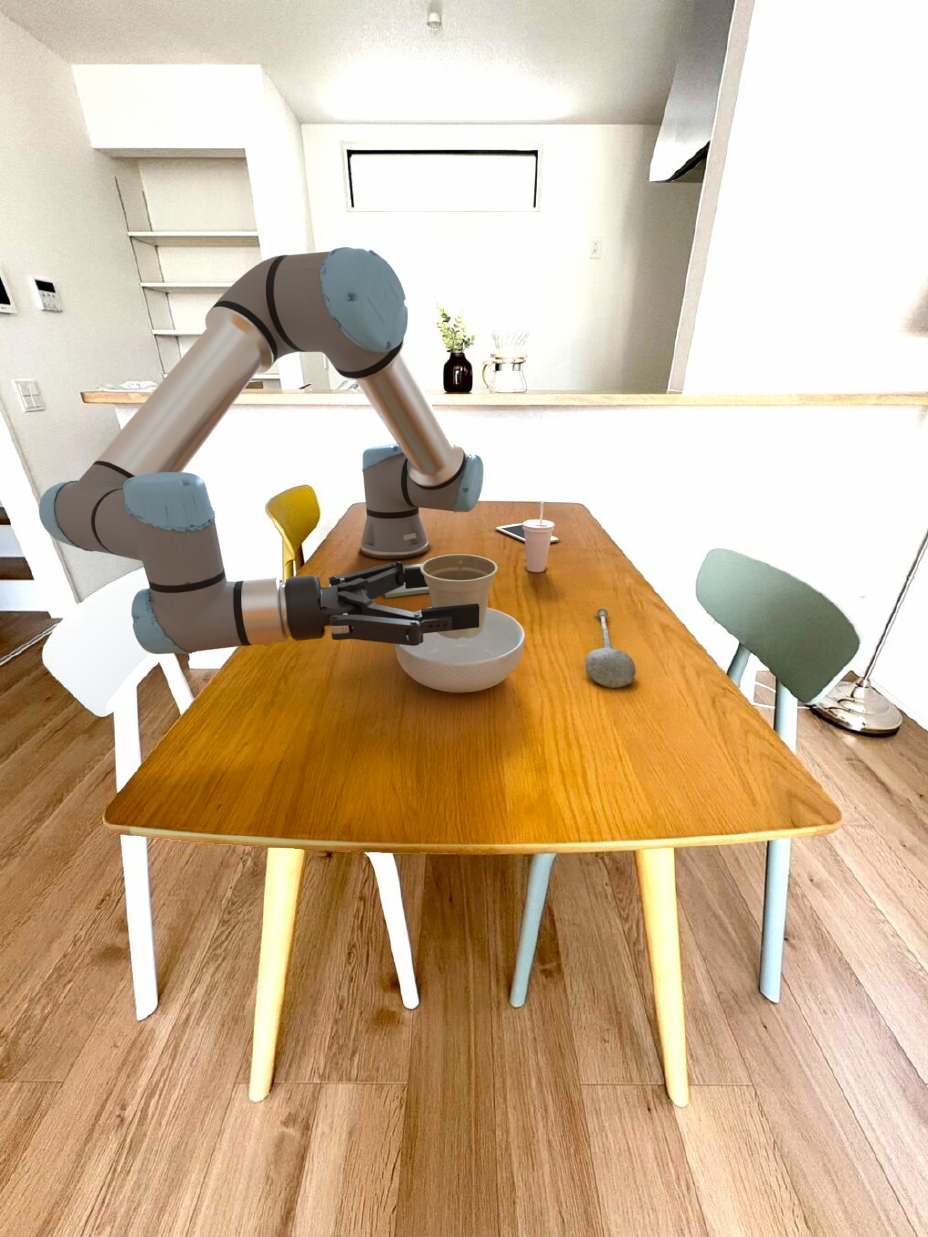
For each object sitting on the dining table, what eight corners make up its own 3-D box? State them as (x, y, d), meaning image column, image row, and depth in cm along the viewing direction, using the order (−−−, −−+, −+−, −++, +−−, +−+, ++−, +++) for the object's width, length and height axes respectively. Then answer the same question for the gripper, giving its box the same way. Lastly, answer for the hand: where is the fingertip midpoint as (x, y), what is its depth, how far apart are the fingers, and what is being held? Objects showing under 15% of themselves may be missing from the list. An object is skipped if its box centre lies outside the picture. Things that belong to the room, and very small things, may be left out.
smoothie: (537, 576, 104) (541, 507, 98) (513, 568, 109) (516, 501, 102) (557, 569, 108) (563, 502, 102) (534, 561, 112) (538, 496, 106)
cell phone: (533, 546, 122) (533, 543, 122) (495, 529, 134) (495, 527, 134) (559, 541, 125) (559, 538, 125) (520, 525, 138) (520, 523, 138)
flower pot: (489, 650, 62) (491, 583, 59) (413, 642, 64) (410, 576, 60) (500, 617, 71) (502, 556, 67) (433, 611, 72) (431, 551, 69)
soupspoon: (583, 689, 69) (634, 696, 68) (587, 667, 67) (639, 674, 66) (582, 614, 88) (622, 619, 87) (585, 596, 86) (626, 601, 85)
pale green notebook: (373, 572, 106) (372, 568, 106) (439, 565, 110) (438, 561, 110) (385, 598, 94) (385, 594, 94) (459, 589, 98) (459, 585, 98)
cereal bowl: (420, 726, 60) (418, 674, 57) (381, 660, 74) (378, 615, 71) (546, 693, 67) (550, 645, 64) (489, 638, 80) (490, 596, 77)
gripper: (297, 598, 73) (444, 584, 78) (285, 694, 51) (491, 668, 56) (289, 546, 70) (443, 536, 75) (273, 627, 48) (493, 605, 53)
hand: (464, 593), depth 65 cm, fingers open, 13 cm apart
